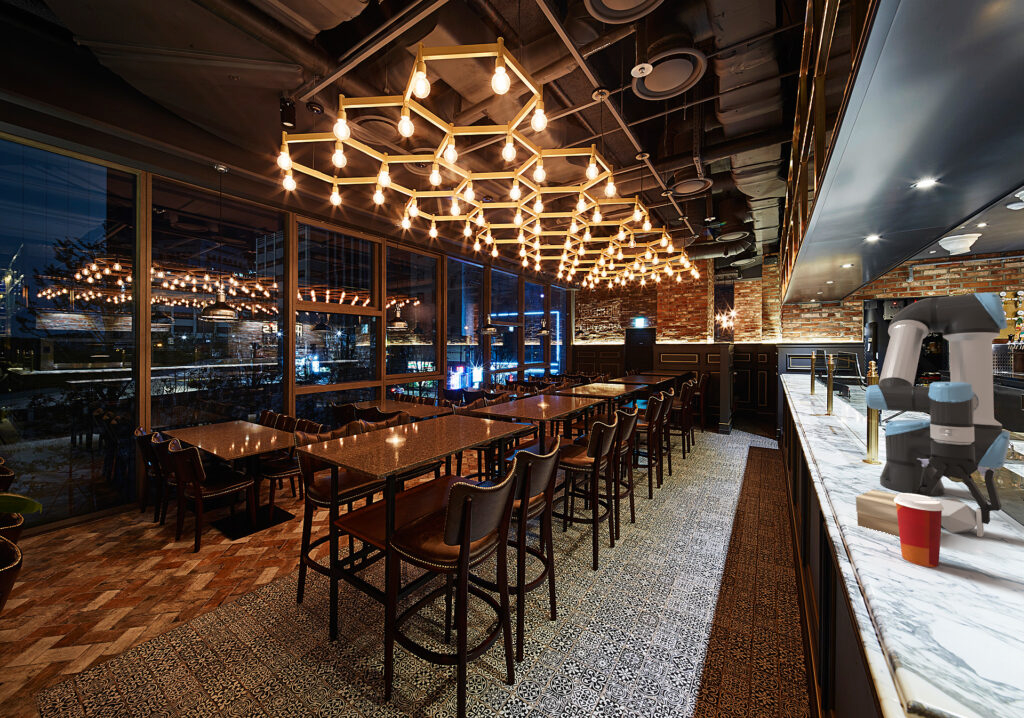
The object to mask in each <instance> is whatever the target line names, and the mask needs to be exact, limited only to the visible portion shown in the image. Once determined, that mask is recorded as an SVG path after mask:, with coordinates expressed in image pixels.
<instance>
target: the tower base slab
mask: <svg viewBox="0 0 1024 718" xmlns="http://www.w3.org/2000/svg"><path fill="white" fill-rule="evenodd" d="M856 512H857V511H856ZM856 517H857V526H858V527H861V526H862V528H865V527H866V528H865V529H868V528H869V530H872V529H873V530H872V531H876V530H877V531H876V532H879V531H881V532H880V533H883V532H885V533H884V534H887V533H888V534H887V535H890V534H891V536H894V535H895V536H894V537H897V538H900V535H899V527H898V522H894V521H890V520H886V519H882V518H878V517H875V516H871V515H867V514H863V513H859V512H857V513H856Z"/></svg>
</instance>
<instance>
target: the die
mask: <svg viewBox="0 0 1024 718" xmlns="http://www.w3.org/2000/svg"><path fill="white" fill-rule="evenodd" d="M936 500H938V501H940V502H941V505H942V506H943V507H944V510H942V517H941V527H943V528H944V529H945V530H946V531H948V532H949V533H952V534H954V533H972V532H973V530H974V529H975V528H977V521H976V509H973V508H972V507H971V506H969V505H968V504H967V503H965V502H963V501H961V500H960V499H958V498H957V497H955V498H954V497H953V498H952V497H951V498H950V497H948V498H936Z"/></svg>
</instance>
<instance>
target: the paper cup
mask: <svg viewBox="0 0 1024 718" xmlns="http://www.w3.org/2000/svg"><path fill="white" fill-rule="evenodd" d="M896 494H897V496H896V498H895V499H894V502H895V503H896V508H897V517H898V527H899V535H900V537H899V543H900V544H899V545H900V550H901V558H902V559H903V560H905V561H906V562H908V563H911V564H914V565H916V566H919V567H925V568H934V569H935V568H938V567H939V565H940V564H939V563H940V552H941V550H940V549H941V535H942V531H941V530H942V525H941V517H942V510H944V507H943V506H942V505H941V502H940V501H938V500H937V498H936V499H935V498H933V497H931V496H929V497H928V496H923V495H918V494H911V493H905V492H899V493H896Z"/></svg>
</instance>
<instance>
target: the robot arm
mask: <svg viewBox="0 0 1024 718" xmlns="http://www.w3.org/2000/svg"><path fill="white" fill-rule="evenodd" d="M1002 302H1003V301H1002V299H1001V296H1000V295H999V294H998V293H996V292H979V293H978V292H974V293H966V294H957V295H950V296H949V295H948V296H938V297H927V298H924V299H920V300H917V301H915V302H912V303H910V304H908V305H907V306H905V307H904V308H902V309H901V310H900V311H898V313H896V315H895V316H894V317H893V318H892V319H891V321H890V323H889V325H888V330H887V333H888V335H889V337H890V338H889V342H888V346H887V348H886V353H885V357H884V362H883V363H882V364H883V365H882V368H881V369H882V370H881V373H880V377H879V380H878V384H873V385H872V384H871V385H868V386H867V387H866V390H865V403H866V405H867V407H868V408H869V409H872V410H878V411H879V410H880V411H893V412H895V411H896V412H912V413H913V412H914V413H923V414H924V413H925V414H929V416H930V419H899V420H892V421H888V422H887V423H886V424H885V432H884V437H885V438H884V440H885V458H886V459H885V460H886V463H885V464H884V467H883V470H882V472H881V474H880V477H879V484H880V485H881V486H883V488H886V489H890V490H893V491H897V492H900V493H910V494H918V495H923V496H928V497H931V496H943V495H945V486H944V483H943V481H942V479H943V477H944V478H953V479H957V480H962V481H963V483H964V484H965V486H966V487H967V489H968V490H969V492H970V493H971V495H972V496H973V499H974V500H975V502H976V504H977V506H978V507H977V508H976V509H975V511H976V521H977V526H976V537H979V538H983V536H984V534H985V532H984V529H985V528H984V524H985V525H988V524H989V523H990V522H991V512H992V511H994V512H999V511H1001V509H1002V503H1001V500H1000V497H999V493H998V492H999V491H998V489H997V486H996V481H995V475H996V469H1000V468H1002V467H1004V465H1005V463H1006V459H1007V455H1008V450H1009V446H1010V439H1011V432H1010V431H1008V430H1006V429H1005V430H1003V424H1002V423H1000V422H999V421H997V419H995V413H994V412H995V410H994V409H995V408H994V373H993V372H994V369H993V368H994V367H993V365H994V364H993V341H994V340H996V338H998V337H999V336H1000V335H1001V331H1000V330H1005V329H1007V328H1008V322H1007V318H1006V313H1005V310H1004V305H1003V303H1002ZM929 333H942V338H943V339H944V340H947V341H948V342H949V362H950V364H949V365H950V367H949V368H950V371H949V374H950V375H949V377H950V381H932V383H929V386H917V385H916V386H915V385H914V384H915V379H916V375H917V371H918V370H917V369H918V363H919V359H920V354H921V348H922V344H923V339H925V338H926V337H927V336H928V335H929ZM976 471H978V472H979V473H980V475H981V476H982V477H983V478H984V479H983V480H984V484H985V488H986V490H987V491H986V492H987V495H988V497H989V498H988V499H989V502H990V504H989V503H988V501H987V500H986V498H985V497H984V496H983V493H982V492H981V490H980V488H979V487H978V485H977V483H976V482H975V480H974V478H973V477H972V474H974V473H975V472H976Z"/></svg>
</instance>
